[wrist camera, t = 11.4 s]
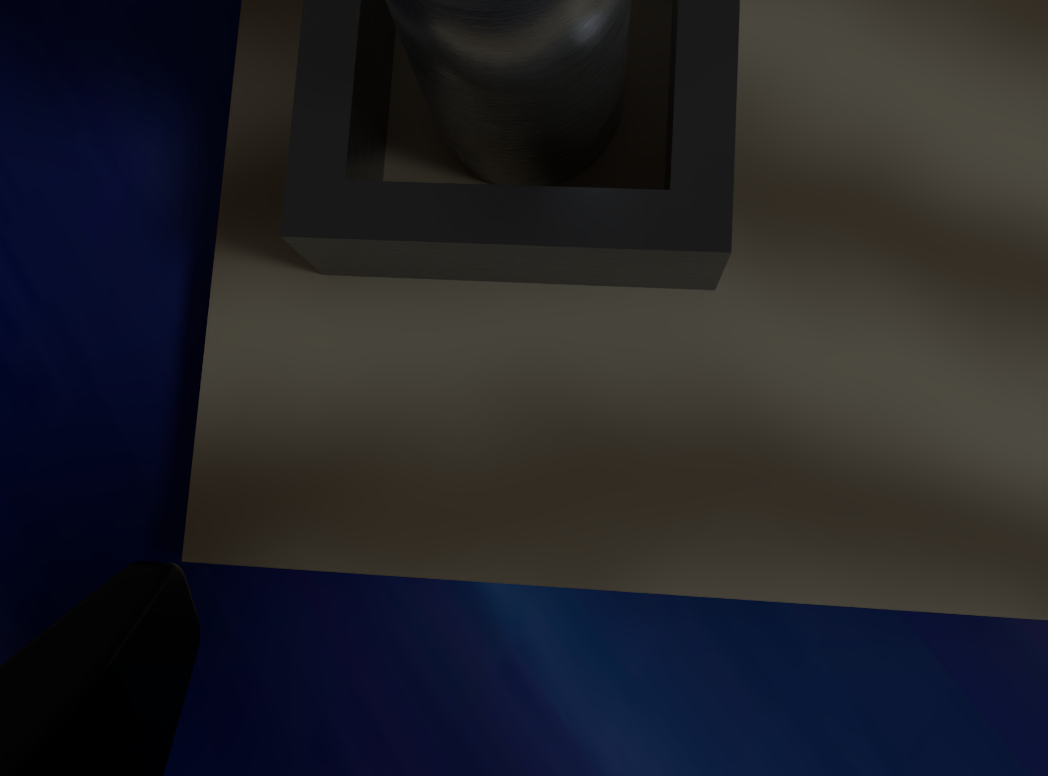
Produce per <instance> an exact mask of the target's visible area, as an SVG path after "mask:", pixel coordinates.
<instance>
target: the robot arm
mask: <svg viewBox="0 0 1048 776" xmlns="http://www.w3.org/2000/svg"><path fill="white" fill-rule="evenodd" d="M200 632H201V630H200V622H199V618H198V614H197V611H196V608H195V605H194V602H193V599H192V596H191V593H190V590H189V586H188V583H187V580H186V577H185V574H184V572H183V570H182V569H181V568H180V567H179V566H178V565H177V564H174V563H167V562H152V561H137V562H133V563H131V564H129V565H127V566H126V567H125V568H123V569H122V570H121V571H119V572H118V573H117V574H116V575H114V576H113V577H112V578H111V579H109V580H108V581H107V582H105V583H104V584H103V585H102V586H100V587H99V588H98V589H97V590H95V591H94V592H93V593H91V594H90V595H89V596H88V597H86V598H85V599H84V600H83V601H81V602H80V603H79V604H78V605H76V606H75V607H74V608H72V609H71V610H70V611H69V612H67V613H66V614H65V615H64V616H62V617H61V618H60V619H59V620H57V621H56V622H55V623H53V624H52V625H51V626H50V627H48V628H47V629H46V630H45V631H43V632H42V633H41V634H40V635H38V636H37V637H36V638H34V639H33V640H32V641H31V642H29V643H28V644H27V645H26V646H24V647H23V648H22V649H20V650H19V651H18V652H17V653H15V654H14V655H13V656H12V657H10V658H9V659H8V660H7V661H5V662H4V663H3V664H1V665H0V776H163V775H164V772H165V768H166V764H167V761H168V757H169V754H170V750H171V746H172V743H173V739H174V735H175V732H176V728H177V725H178V721H179V717H180V714H181V710H182V706H183V703H184V699H185V696H186V692H187V688H188V685H189V681H190V677H191V674H192V670H193V667H194V663H195V659H196V656H197V652H198V648H199V643H200Z"/></svg>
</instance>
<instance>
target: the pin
mask: <svg viewBox="0 0 1048 776" xmlns="http://www.w3.org/2000/svg"><path fill="white" fill-rule="evenodd" d="M385 1H386V4H387V6H388V9H389V11H390V14H391V16H392V19H393V21H394V24H395V26H396V29H397V31H398V34H399V36H400V39H401V41H402V44H403V46H404V49H405V51H406V54H407V56H408V59H409V61H410V64H411V66H412V69H413V71H414V74H415V76H416V79H417V81H418V84H419V86H420V89H421V91H422V94H423V96H424V99H425V101H426V104H427V106H428V109H429V111H430V114H431V116H432V119H433V121H434V124H435V126H436V129H437V131H438V134H439V136H440V138H441V140H442V142H443V144H444V145H445V147H446V149H447V150H448V152H449V153H450V154H451V155H452V157H453V158H454V159H455V160H456V161H457V162H458V163H459V164H460V165H461V166H462V167H463V168H464V169H465V170H467V171H468V172H470V173H471V174H473V175H474V176H476V177H478V178H480V179H482V180H484V181H486V182H488V183H491V184H494V185H523V186H554V185H557V184H560V183H563V182H565V181H567V180H569V179H571V178H573V177H575V176H577V175H578V174H580V173H581V172H583V171H584V170H586V169H587V168H588V167H589V166H591V165H592V164H593V163H594V162H595V161H596V160H597V159H598V158H599V157H600V156H601V155H602V154H603V152H604V151H605V150H606V148H607V147H608V145H609V144H610V142H611V140H612V139H613V137H614V135H615V133H616V130H617V128H618V125H619V123H620V119H621V115H622V111H623V102H624V89H625V76H626V62H627V48H628V34H629V21H630V7H631V0H385Z"/></svg>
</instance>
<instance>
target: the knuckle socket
mask: <svg viewBox="0 0 1048 776" xmlns="http://www.w3.org/2000/svg"><path fill="white" fill-rule="evenodd" d="M739 16H740V0H673V3H672V25H671V48H670V71H669V94H668V117H667V139H666V162H665V185H664V190H656V189H622V188H589V187H556V186H523V185H490V184H457V183H423V182H390V181H383V176H384V164H385V152H386V140H387V128H388V116H389V104H390V93H391V81H392V69H393V57H394V45H395V33H396V26H395V24H394V21H393V19H392V16H391V14H390V11H389V9H388V6H387V4H386V1H385V0H303V9H302V19H301V29H300V40H299V50H298V60H297V70H296V80H295V91H294V101H293V111H292V121H291V131H290V142H289V152H288V162H287V172H286V182H285V193H284V203H283V213H282V223H281V233H280V237H281V238H282V239H283V240H285V241H286V242H287V243H288V244H289V245H290V246H291V247H292V248H293V249H295V250H296V251H297V252H298V253H299V254H300V255H301V256H302V257H304V258H305V259H306V260H307V261H308V262H309V263H310V264H311V265H313V266H314V267H315V268H316V269H317V270H318V271H319V272H320V273H321V274H323V275H335V276H360V277H385V278H411V279H436V280H462V281H487V282H513V283H538V284H564V285H589V286H614V287H640V288H665V289H691V290H716V287H717V285H718V283H719V280H720V278H721V276H722V273H723V271H724V269H725V266H726V264H727V262H728V260H729V257H730V255H731V251H732V221H733V192H734V162H735V133H736V104H737V74H738V45H739Z"/></svg>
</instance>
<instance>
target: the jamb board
mask: <svg viewBox="0 0 1048 776" xmlns="http://www.w3.org/2000/svg"><path fill="white" fill-rule="evenodd" d="M672 3H673V0H631V7H630V21H629V34H628V48H627V62H626V76H625V89H624V102H623V111H622V115H621V119H620V123H619V125H618V128H617V130H616V133H615V135H614V137H613V139H612V140H611V142H610V144H609V145H608V147H607V148H606V150H605V151H604V152H603V154H602V155H601V156H600V157H599V158H598V159H597V160H596V161H595V162H594V163H593V164H592V165H591V166H589V167H588V168H587V169H586V170H584V171H583V172H581V173H580V174H578V175H577V176H575V177H573V178H571V179H569V180H567V181H565V182H563V183H560V184H557V185H554V186H556V187H589V188H622V189H656V190H664V185H665V162H666V139H667V117H668V94H669V71H670V48H671V25H672ZM302 9H303V0H242V2H241V12H240V21H239V30H238V40H237V49H236V58H235V68H234V77H233V87H232V96H231V105H230V115H229V124H228V133H227V143H226V152H225V161H224V171H223V180H222V189H221V199H220V208H219V217H218V227H217V236H216V245H215V255H214V264H213V273H212V283H211V292H210V301H209V311H208V320H207V329H206V339H205V348H204V358H203V367H202V376H201V386H200V395H199V404H198V414H197V423H196V432H195V442H194V451H193V460H192V470H191V479H190V488H189V498H188V507H187V516H186V526H185V535H184V544H183V554H182V562H195V563H210V564H225V565H240V566H254V567H269V568H284V569H299V570H313V571H328V572H343V573H358V574H373V575H387V576H402V577H417V578H432V579H447V580H461V581H476V582H491V583H506V584H521V585H535V586H550V587H565V588H580V589H595V590H609V591H624V592H639V593H654V594H668V595H683V596H698V597H713V598H728V599H742V600H757V601H772V602H787V603H802V604H816V605H831V606H846V607H861V608H876V609H890V610H905V611H920V612H935V613H950V614H964V615H979V616H994V617H1009V618H1023V619H1038V620H1048V0H740V16H739V45H738V74H737V104H736V133H735V162H734V192H733V221H732V251H731V255H730V257H729V260H728V262H727V264H726V266H725V269H724V271H723V273H722V276H721V278H720V280H719V283H718V285H717V287H716V290H691V289H665V288H640V287H614V286H589V285H564V284H538V283H513V282H487V281H462V280H436V279H411V278H385V277H360V276H335V275H323V274H321V273H320V272H319V271H318V270H317V269H316V268H315V267H314V266H313V265H311V264H310V263H309V262H308V261H307V260H306V259H305V258H304V257H302V256H301V255H300V254H299V253H298V252H297V251H296V250H295V249H293V248H292V247H291V246H290V245H289V244H288V243H287V242H286V241H285V240H283V239H282V238H281V237H280V233H281V223H282V213H283V203H284V193H285V182H286V172H287V162H288V152H289V142H290V131H291V121H292V111H293V101H294V91H295V80H296V70H297V60H298V50H299V40H300V29H301V19H302ZM383 181H390V182H423V183H457V184H490V185H494V184H491V183H488V182H486V181H484V180H482V179H480V178H478V177H476V176H474V175H473V174H471V173H470V172H468V171H467V170H465V169H464V168H463V167H462V166H461V165H460V164H459V163H458V162H457V161H456V160H455V159H454V158H453V157H452V155H451V154H450V153H449V152H448V150H447V149H446V147H445V145H444V144H443V142H442V140H441V138H440V136H439V134H438V131H437V129H436V126H435V124H434V121H433V119H432V116H431V114H430V111H429V109H428V106H427V104H426V101H425V99H424V96H423V94H422V91H421V89H420V86H419V84H418V81H417V79H416V76H415V74H414V71H413V69H412V66H411V64H410V61H409V59H408V56H407V54H406V51H405V49H404V46H403V44H402V41H401V39H400V36H399V34H398V31H397V29H396V33H395V45H394V57H393V69H392V81H391V93H390V104H389V116H388V128H387V140H386V152H385V164H384V176H383Z"/></svg>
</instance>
